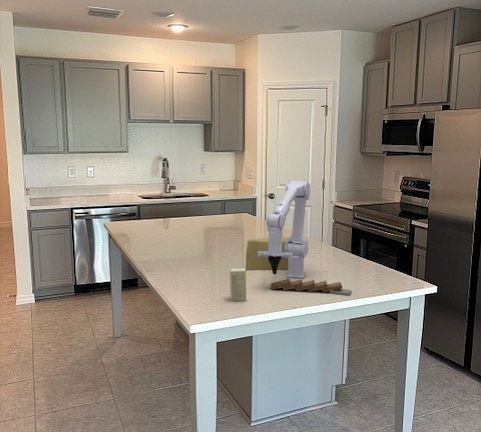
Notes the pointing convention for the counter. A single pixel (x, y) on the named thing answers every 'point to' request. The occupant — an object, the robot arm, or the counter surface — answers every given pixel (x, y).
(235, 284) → the skincare box
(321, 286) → the walnut domino
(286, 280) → the walnut domino
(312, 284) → the walnut domino
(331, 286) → the walnut domino
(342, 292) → the grey domino
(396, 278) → the counter surface
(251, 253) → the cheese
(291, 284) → the walnut domino
